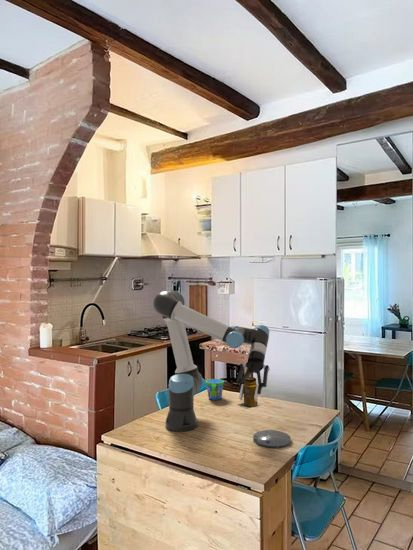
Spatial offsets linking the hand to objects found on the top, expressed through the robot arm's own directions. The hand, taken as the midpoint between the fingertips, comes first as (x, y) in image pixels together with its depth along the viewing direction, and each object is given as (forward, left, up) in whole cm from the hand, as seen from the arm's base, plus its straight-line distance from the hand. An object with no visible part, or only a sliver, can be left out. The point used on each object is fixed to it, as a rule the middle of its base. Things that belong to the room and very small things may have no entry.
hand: (247, 399), depth 183 cm
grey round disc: (+10, +3, -18) cm, 21 cm away
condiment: (-1, +3, -4) cm, 5 cm away
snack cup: (-35, +50, -18) cm, 64 cm away
